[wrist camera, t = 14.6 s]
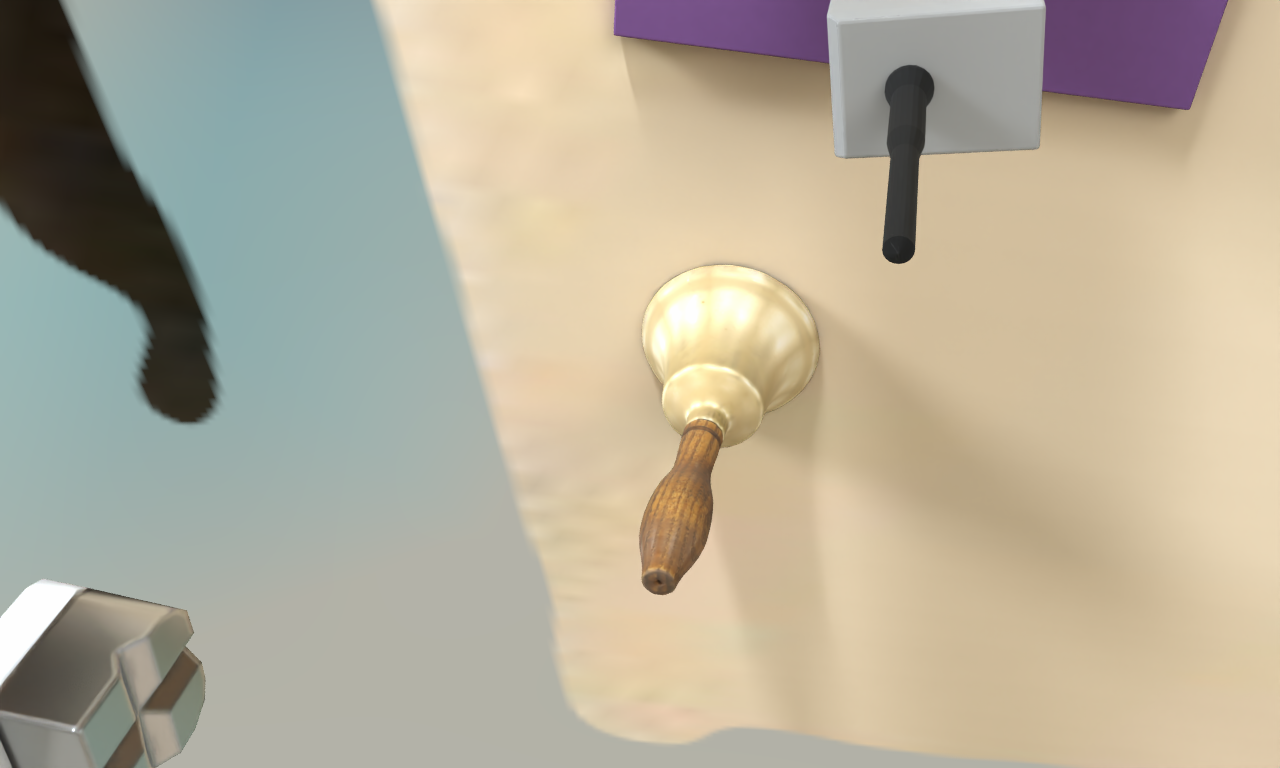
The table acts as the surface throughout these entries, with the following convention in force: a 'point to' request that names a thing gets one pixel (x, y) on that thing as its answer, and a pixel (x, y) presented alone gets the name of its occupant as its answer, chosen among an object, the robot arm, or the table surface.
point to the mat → (1073, 45)
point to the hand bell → (715, 392)
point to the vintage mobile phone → (932, 88)
